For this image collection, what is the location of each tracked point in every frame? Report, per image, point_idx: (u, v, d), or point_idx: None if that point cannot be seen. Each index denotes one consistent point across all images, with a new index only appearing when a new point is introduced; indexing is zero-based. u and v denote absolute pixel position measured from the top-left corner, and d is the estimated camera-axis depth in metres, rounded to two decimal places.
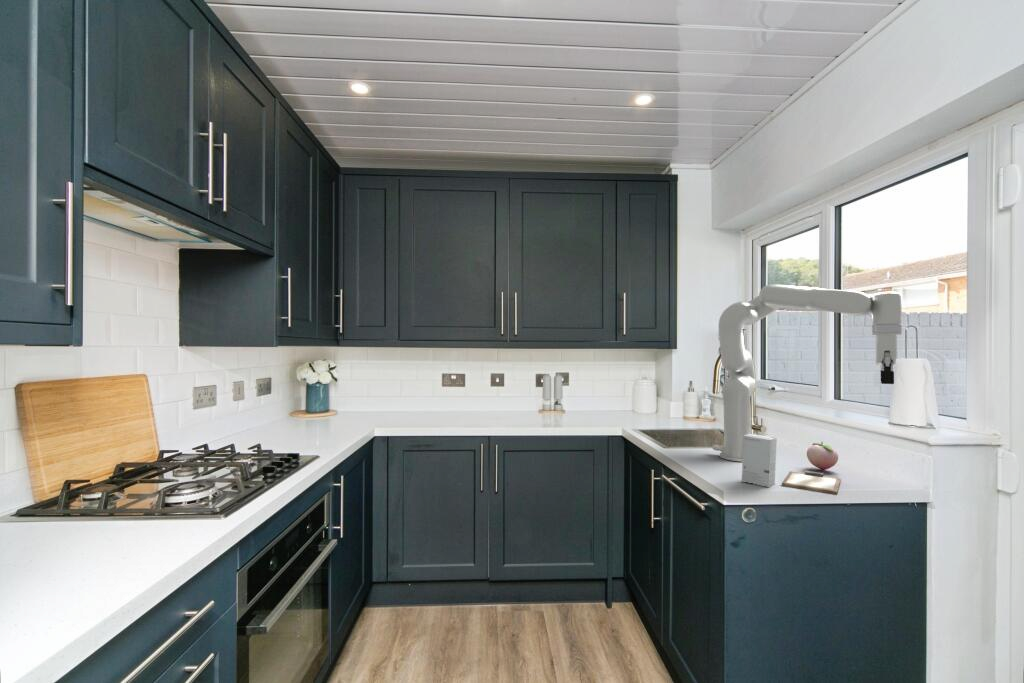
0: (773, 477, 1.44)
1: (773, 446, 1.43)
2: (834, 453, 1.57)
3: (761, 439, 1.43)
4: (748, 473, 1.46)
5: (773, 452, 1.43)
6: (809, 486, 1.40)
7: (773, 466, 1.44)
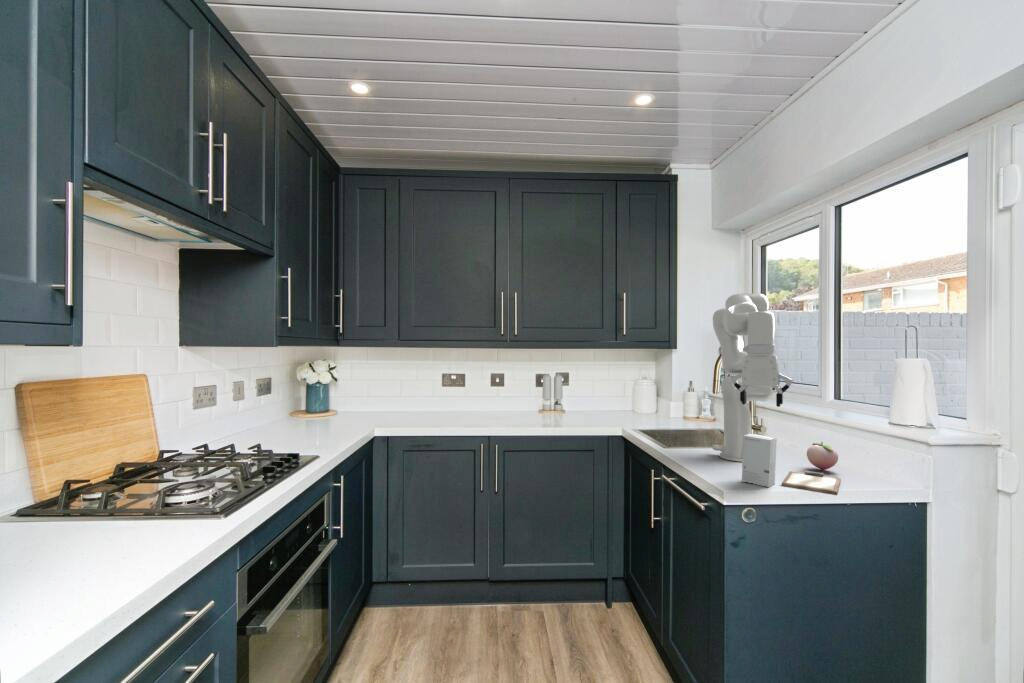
0: (773, 477, 1.44)
1: (773, 446, 1.43)
2: (834, 453, 1.57)
3: (761, 439, 1.43)
4: (748, 473, 1.46)
5: (773, 452, 1.43)
6: (809, 486, 1.40)
7: (773, 466, 1.44)
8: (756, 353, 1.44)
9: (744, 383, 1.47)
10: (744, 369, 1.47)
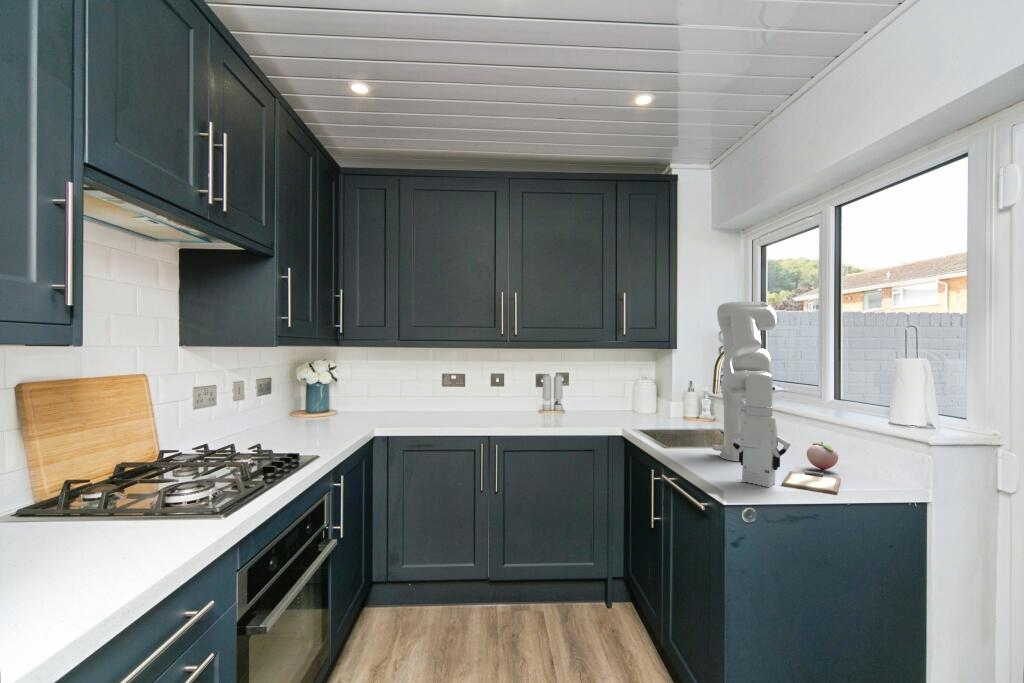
0: (773, 477, 1.44)
1: None
2: (834, 453, 1.57)
3: None
4: (748, 473, 1.46)
5: None
6: (809, 486, 1.40)
7: (773, 466, 1.44)
8: (754, 415, 1.44)
9: (742, 444, 1.47)
10: (742, 430, 1.47)
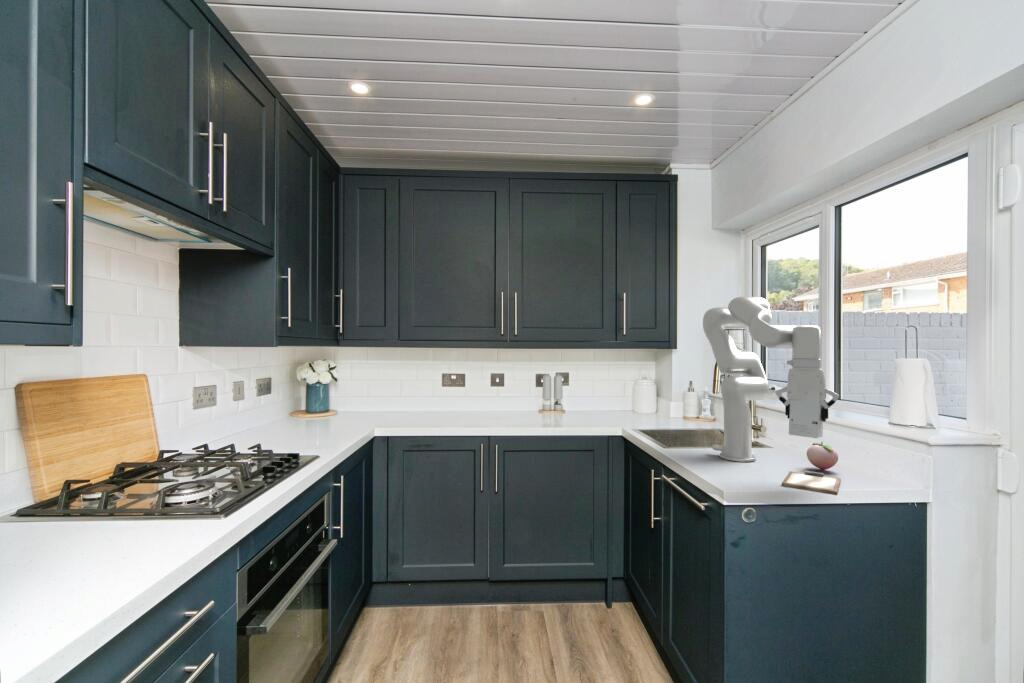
0: (821, 429, 1.44)
1: None
2: (834, 453, 1.57)
3: (809, 391, 1.43)
4: (795, 426, 1.46)
5: (821, 404, 1.43)
6: (809, 486, 1.40)
7: (821, 418, 1.44)
8: (802, 367, 1.44)
9: (789, 397, 1.47)
10: (789, 383, 1.47)
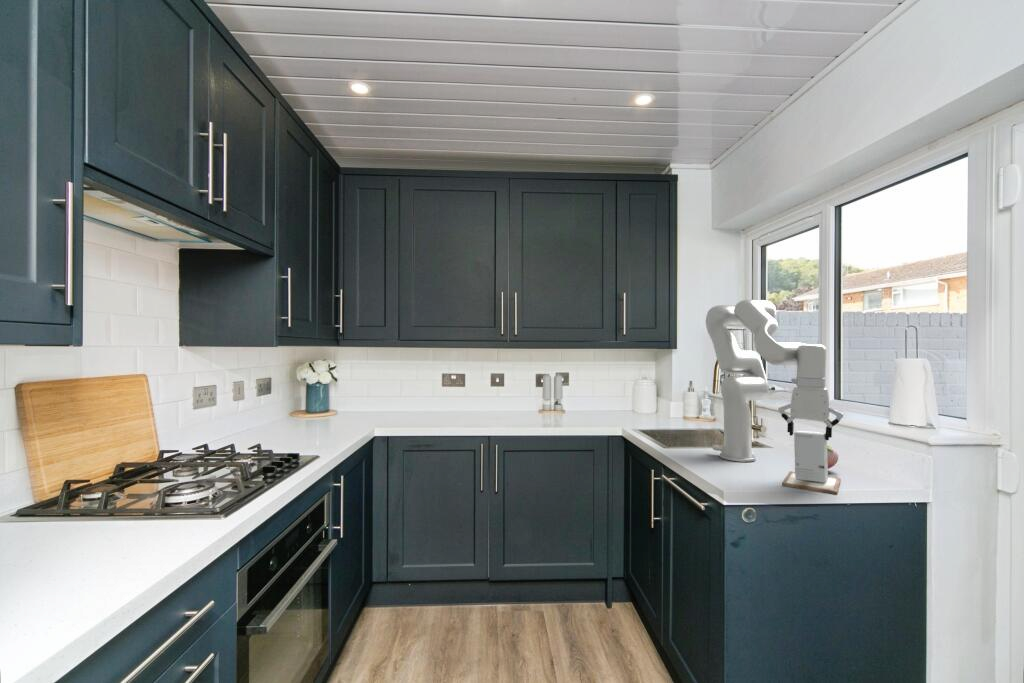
0: (827, 472, 1.44)
1: (825, 441, 1.44)
2: (834, 453, 1.57)
3: (813, 435, 1.44)
4: (801, 470, 1.46)
5: (825, 447, 1.44)
6: (809, 486, 1.40)
7: (826, 461, 1.44)
8: (807, 386, 1.44)
9: (793, 415, 1.47)
10: (793, 401, 1.47)
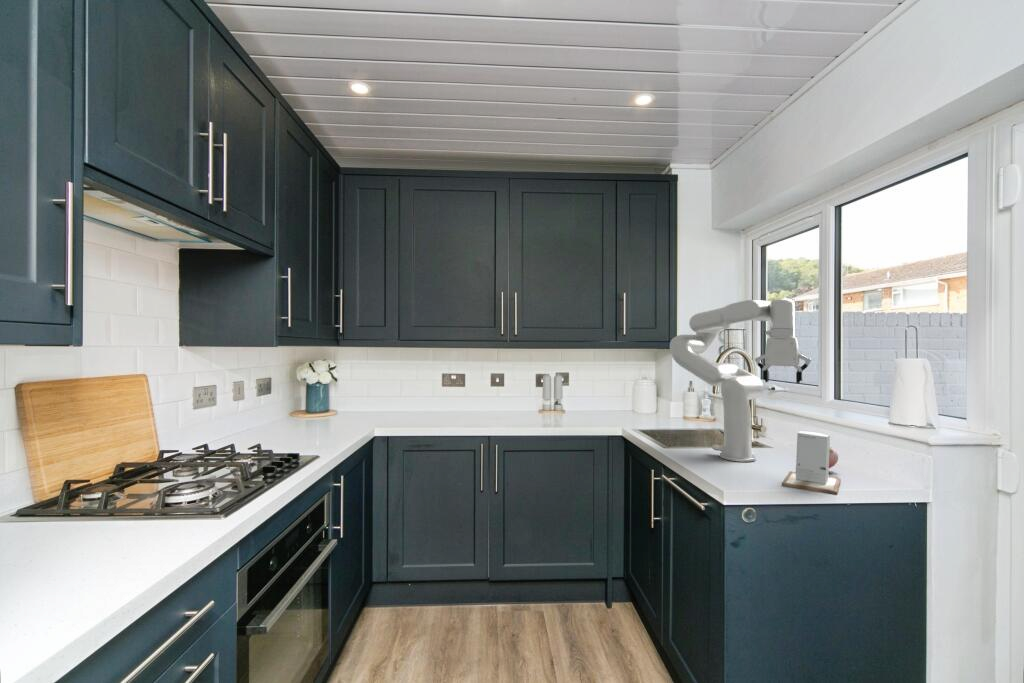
0: (827, 474, 1.44)
1: (828, 442, 1.43)
2: (834, 453, 1.57)
3: (817, 436, 1.43)
4: (802, 471, 1.46)
5: (828, 449, 1.44)
6: (809, 486, 1.40)
7: (828, 463, 1.44)
8: (778, 336, 1.62)
9: (767, 363, 1.65)
10: (767, 350, 1.65)
